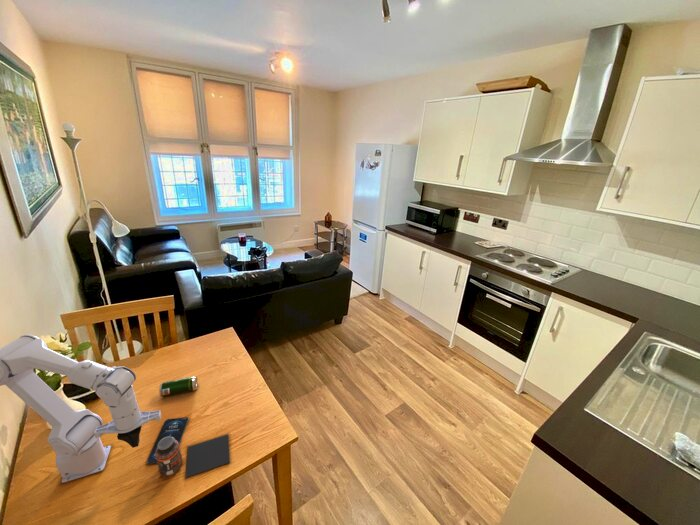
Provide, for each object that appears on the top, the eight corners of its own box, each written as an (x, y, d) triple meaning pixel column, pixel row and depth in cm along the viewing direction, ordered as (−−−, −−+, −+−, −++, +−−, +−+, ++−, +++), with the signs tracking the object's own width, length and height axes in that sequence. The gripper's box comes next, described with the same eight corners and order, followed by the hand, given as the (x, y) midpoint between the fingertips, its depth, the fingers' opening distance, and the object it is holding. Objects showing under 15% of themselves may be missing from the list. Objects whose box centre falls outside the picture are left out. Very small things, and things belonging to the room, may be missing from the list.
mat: (185, 478, 84) (185, 477, 84) (188, 447, 92) (188, 446, 92) (229, 462, 89) (229, 462, 89) (228, 434, 97) (228, 434, 97)
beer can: (160, 400, 107) (196, 393, 111) (158, 388, 106) (194, 381, 110) (163, 391, 112) (197, 384, 116) (161, 379, 111) (196, 373, 115)
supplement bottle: (176, 478, 84) (169, 454, 79) (155, 476, 84) (147, 452, 79) (187, 457, 89) (181, 433, 84) (167, 455, 89) (161, 432, 84)
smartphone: (145, 463, 86) (165, 419, 100) (145, 464, 87) (165, 420, 100) (173, 459, 88) (189, 416, 101) (173, 460, 88) (189, 417, 102)
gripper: (158, 390, 83) (167, 423, 88) (95, 406, 77) (108, 440, 82) (155, 409, 77) (164, 444, 82) (86, 428, 71) (100, 464, 76)
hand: (136, 443), depth 82 cm, fingers closed
